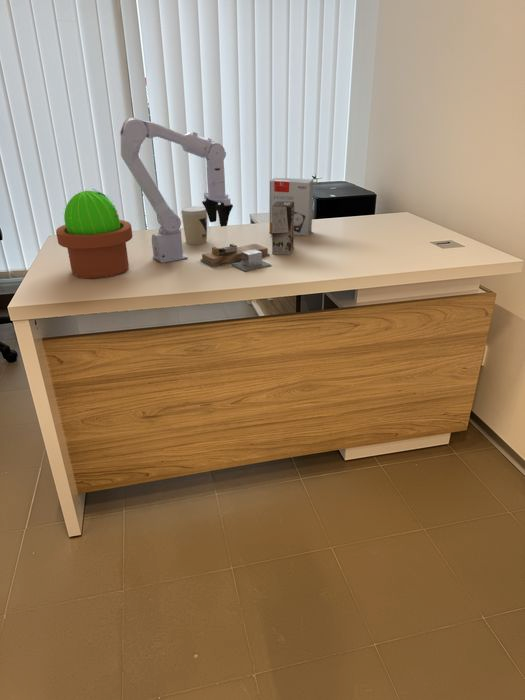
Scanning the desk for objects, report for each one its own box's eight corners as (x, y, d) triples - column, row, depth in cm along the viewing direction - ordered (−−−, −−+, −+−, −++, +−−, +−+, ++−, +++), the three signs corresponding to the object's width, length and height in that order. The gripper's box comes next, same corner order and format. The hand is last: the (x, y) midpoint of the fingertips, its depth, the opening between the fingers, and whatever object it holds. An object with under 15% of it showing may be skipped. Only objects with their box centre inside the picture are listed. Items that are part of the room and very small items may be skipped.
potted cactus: (62, 285, 152) (45, 197, 141) (66, 263, 171) (50, 184, 159) (139, 277, 157) (128, 192, 146) (134, 257, 176) (124, 180, 165)
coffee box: (290, 254, 176) (290, 206, 168) (271, 254, 177) (271, 205, 170) (294, 247, 184) (294, 201, 176) (276, 246, 185) (276, 200, 178)
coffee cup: (207, 244, 189) (205, 211, 183) (181, 245, 189) (179, 211, 184) (210, 238, 197) (208, 206, 192) (185, 238, 197) (183, 206, 192)
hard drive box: (268, 233, 202) (268, 180, 193) (274, 229, 208) (274, 177, 199) (308, 236, 197) (309, 181, 188) (312, 231, 204) (313, 178, 195)
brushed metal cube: (248, 267, 163) (248, 254, 161) (242, 264, 166) (241, 251, 164) (262, 264, 165) (261, 252, 163) (255, 261, 168) (255, 249, 166)
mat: (244, 271, 160) (244, 270, 160) (231, 265, 166) (231, 264, 166) (271, 265, 165) (271, 264, 165) (257, 259, 171) (257, 258, 171)
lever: (217, 253, 169) (224, 253, 165) (216, 248, 169) (223, 248, 164) (230, 251, 172) (238, 251, 167) (229, 246, 171) (237, 246, 167)
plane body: (212, 267, 165) (211, 252, 163) (200, 261, 171) (199, 247, 169) (269, 255, 175) (269, 241, 173) (256, 250, 181) (256, 236, 179)
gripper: (238, 183, 165) (239, 226, 171) (216, 178, 176) (218, 218, 182) (218, 185, 162) (220, 229, 168) (197, 180, 173) (200, 221, 179)
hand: (218, 223), depth 175 cm, fingers open, 7 cm apart
